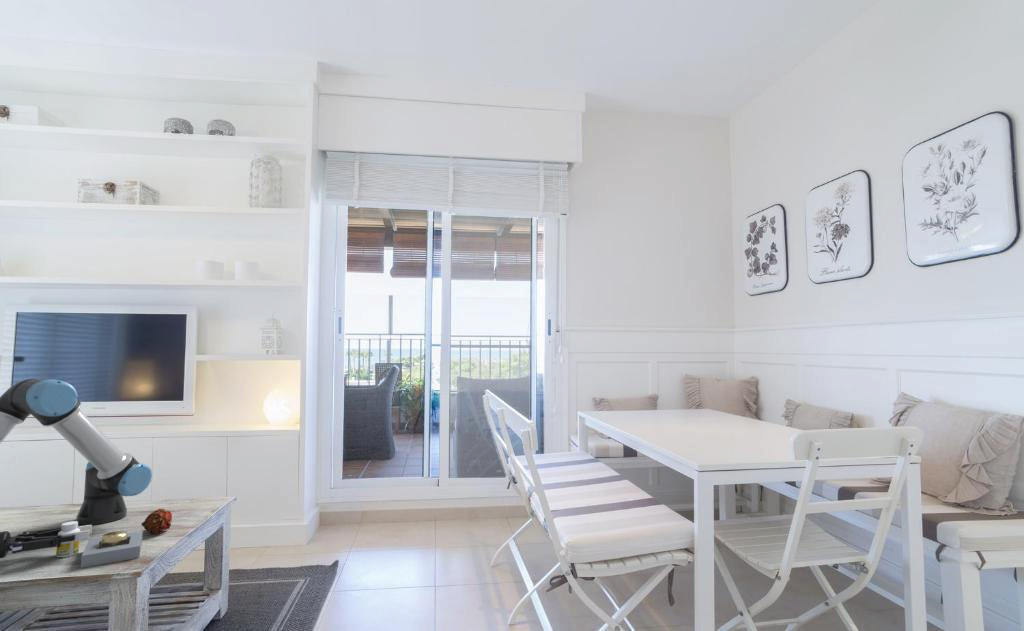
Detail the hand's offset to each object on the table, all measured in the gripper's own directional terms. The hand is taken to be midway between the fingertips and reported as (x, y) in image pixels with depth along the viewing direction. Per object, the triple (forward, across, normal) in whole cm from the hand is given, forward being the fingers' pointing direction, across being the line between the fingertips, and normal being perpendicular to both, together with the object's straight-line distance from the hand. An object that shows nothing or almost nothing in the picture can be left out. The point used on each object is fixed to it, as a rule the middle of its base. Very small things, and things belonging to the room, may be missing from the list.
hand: (90, 531), depth 161 cm
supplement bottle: (-5, 0, -6) cm, 8 cm away
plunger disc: (+7, +7, -3) cm, 10 cm away
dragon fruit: (+18, -10, -6) cm, 21 cm away
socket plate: (+7, +7, -6) cm, 11 cm away
